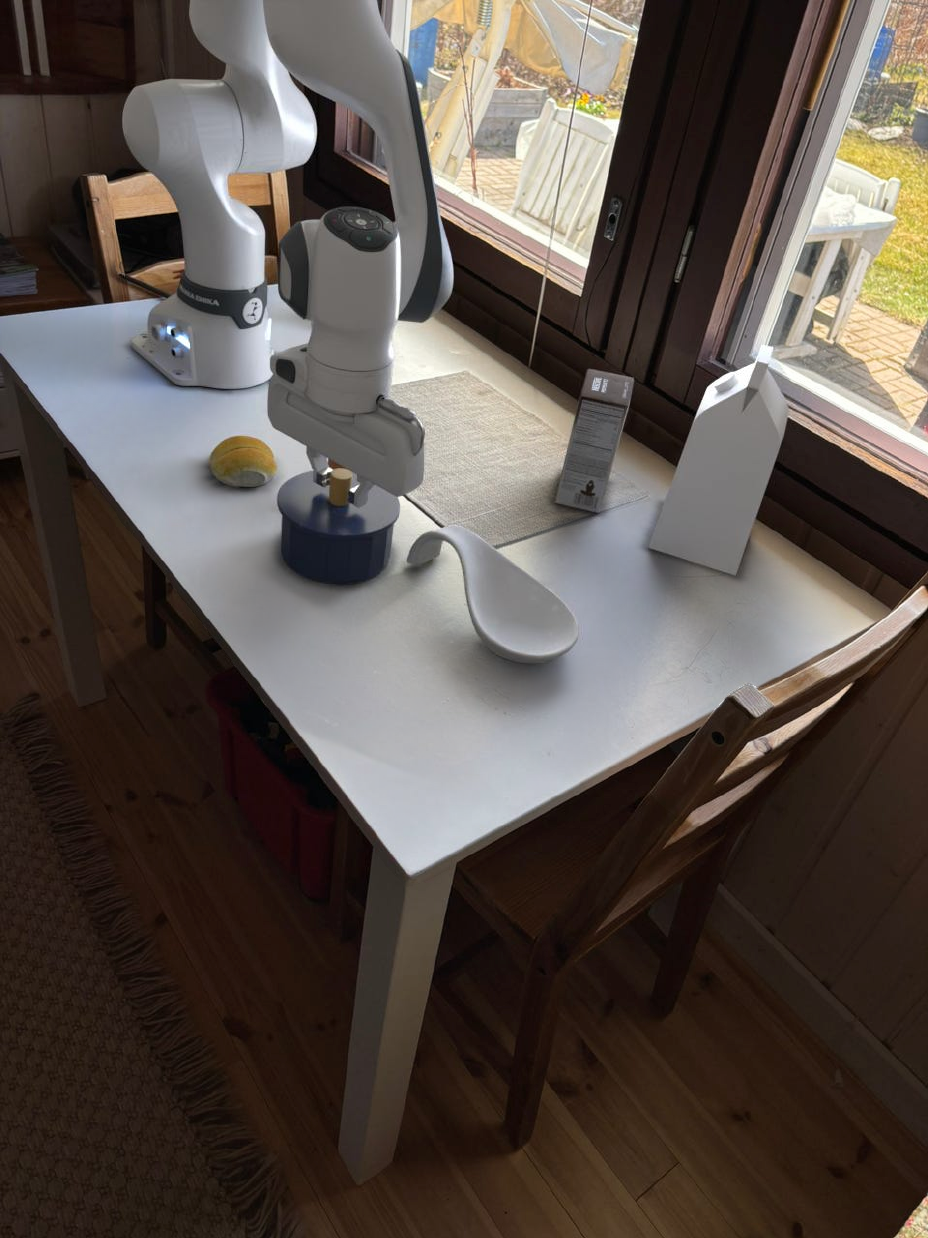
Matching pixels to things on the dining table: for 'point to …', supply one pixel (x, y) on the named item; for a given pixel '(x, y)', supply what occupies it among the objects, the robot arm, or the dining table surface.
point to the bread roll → (242, 462)
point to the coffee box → (594, 439)
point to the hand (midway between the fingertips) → (339, 493)
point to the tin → (334, 555)
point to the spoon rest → (504, 599)
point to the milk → (724, 469)
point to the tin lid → (336, 507)
